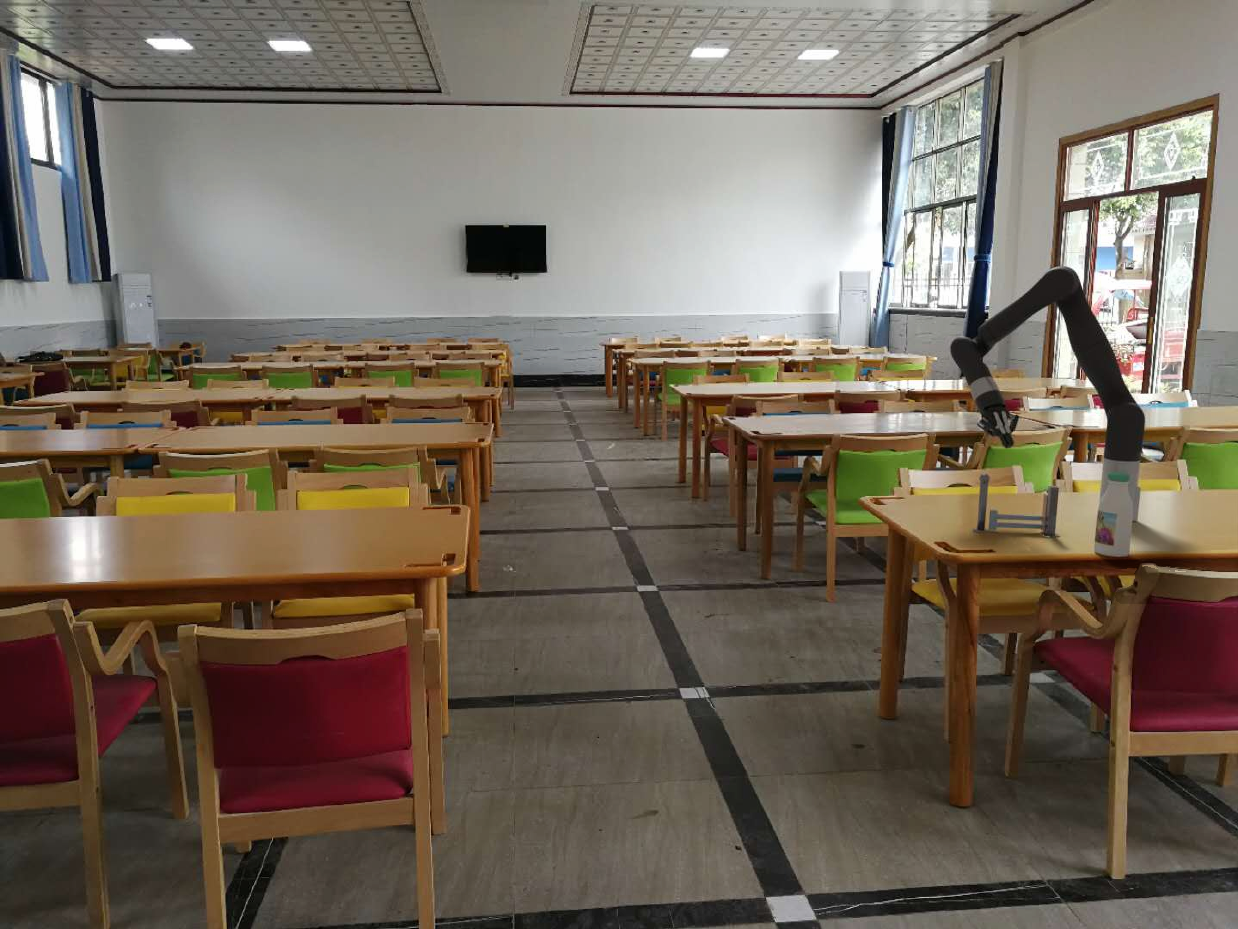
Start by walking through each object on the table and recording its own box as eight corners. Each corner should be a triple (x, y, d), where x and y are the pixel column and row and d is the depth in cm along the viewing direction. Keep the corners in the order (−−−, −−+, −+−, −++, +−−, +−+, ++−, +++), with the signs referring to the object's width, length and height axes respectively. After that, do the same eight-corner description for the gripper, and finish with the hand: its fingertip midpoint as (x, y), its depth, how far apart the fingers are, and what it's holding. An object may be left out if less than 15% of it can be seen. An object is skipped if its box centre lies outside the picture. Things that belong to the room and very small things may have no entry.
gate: (990, 530, 253) (993, 493, 252) (988, 528, 256) (990, 491, 254) (1053, 532, 252) (1056, 495, 250) (1050, 530, 254) (1053, 493, 252)
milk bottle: (1121, 550, 236) (1129, 470, 233) (1134, 558, 229) (1142, 476, 225) (1088, 549, 237) (1096, 470, 234) (1101, 557, 230) (1109, 476, 226)
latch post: (1039, 532, 253) (1043, 485, 251) (1054, 533, 253) (1058, 485, 250) (1044, 536, 249) (1048, 488, 247) (1060, 537, 249) (1064, 488, 246)
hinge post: (985, 529, 257) (989, 472, 254) (990, 532, 253) (995, 475, 250) (970, 529, 257) (974, 472, 254) (975, 532, 253) (980, 475, 250)
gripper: (972, 391, 273) (995, 443, 266) (1013, 386, 276) (1037, 437, 268) (961, 405, 280) (983, 456, 272) (1001, 400, 283) (1023, 450, 275)
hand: (1009, 446), depth 270 cm, fingers closed
